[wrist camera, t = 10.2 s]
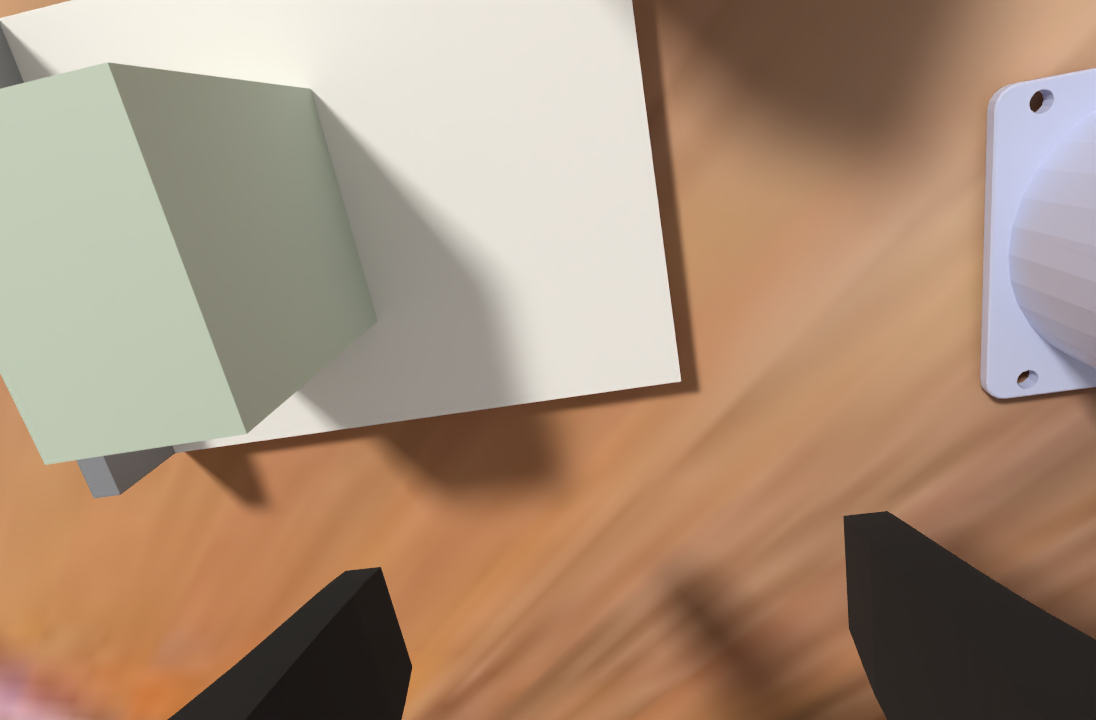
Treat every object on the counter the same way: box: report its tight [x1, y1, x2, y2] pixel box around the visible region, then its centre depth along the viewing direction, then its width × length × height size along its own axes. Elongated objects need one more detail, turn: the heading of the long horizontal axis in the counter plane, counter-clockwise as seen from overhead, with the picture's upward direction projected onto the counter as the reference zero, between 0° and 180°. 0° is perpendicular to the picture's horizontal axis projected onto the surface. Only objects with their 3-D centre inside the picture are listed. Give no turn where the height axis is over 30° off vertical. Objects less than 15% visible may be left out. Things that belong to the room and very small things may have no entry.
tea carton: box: [0, 62, 378, 465], centre depth 14 cm, size 4×6×7 cm
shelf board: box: [0, 0, 681, 498], centre depth 16 cm, size 16×12×3 cm
